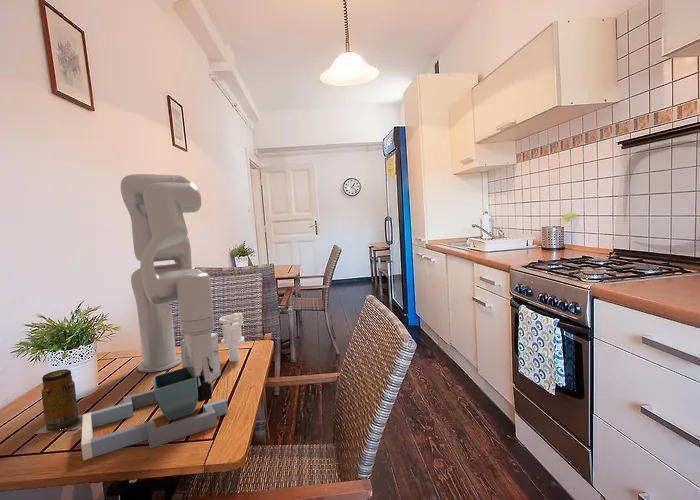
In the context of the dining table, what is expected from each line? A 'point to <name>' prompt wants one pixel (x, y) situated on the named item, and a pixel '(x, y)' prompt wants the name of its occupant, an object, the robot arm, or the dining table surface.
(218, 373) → the supplement box
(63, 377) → the condiment
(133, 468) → the dining table surface
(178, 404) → the flower pot
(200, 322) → the robot arm
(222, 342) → the white plastic fitting
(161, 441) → the stepped grey frame
